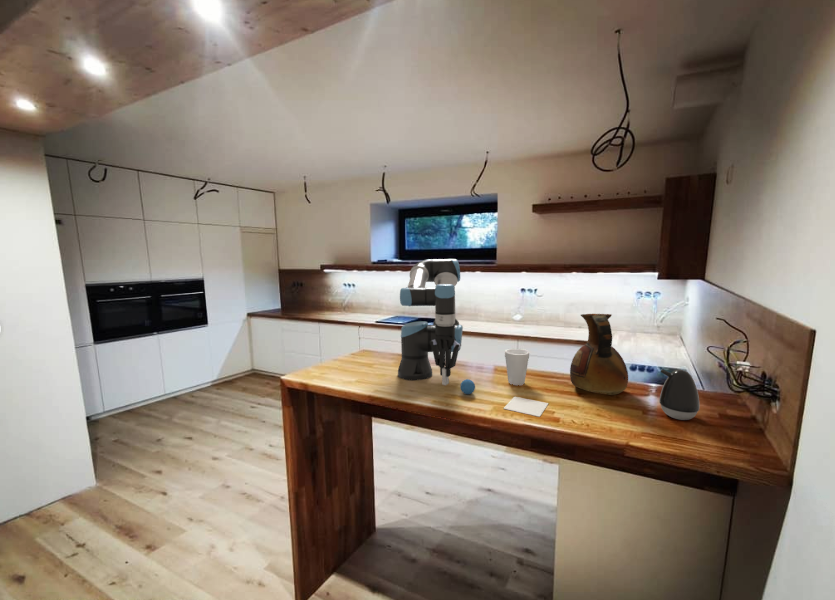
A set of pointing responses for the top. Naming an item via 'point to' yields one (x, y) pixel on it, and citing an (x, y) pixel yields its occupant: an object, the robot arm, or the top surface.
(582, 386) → the ceramic pitcher
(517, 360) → the foam cup
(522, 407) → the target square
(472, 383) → the ball
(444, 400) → the top surface
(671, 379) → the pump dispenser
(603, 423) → the top surface
